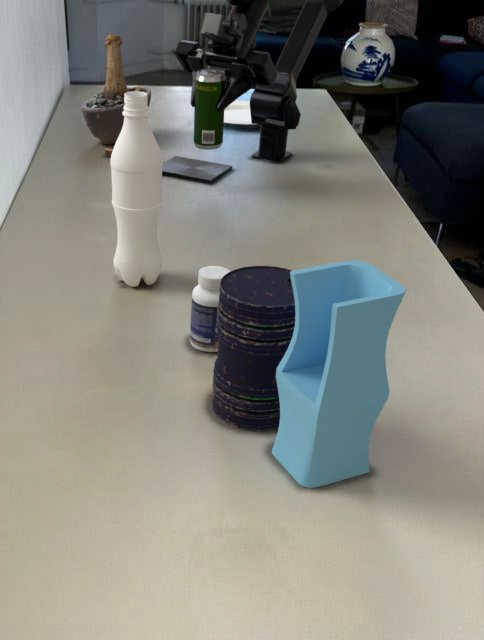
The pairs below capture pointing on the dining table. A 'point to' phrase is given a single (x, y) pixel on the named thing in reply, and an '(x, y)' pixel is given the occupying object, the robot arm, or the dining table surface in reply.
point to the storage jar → (252, 345)
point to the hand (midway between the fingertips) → (205, 108)
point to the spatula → (190, 168)
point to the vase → (334, 370)
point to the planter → (110, 97)
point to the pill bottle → (206, 309)
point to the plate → (239, 115)
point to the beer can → (208, 109)
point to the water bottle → (137, 194)
